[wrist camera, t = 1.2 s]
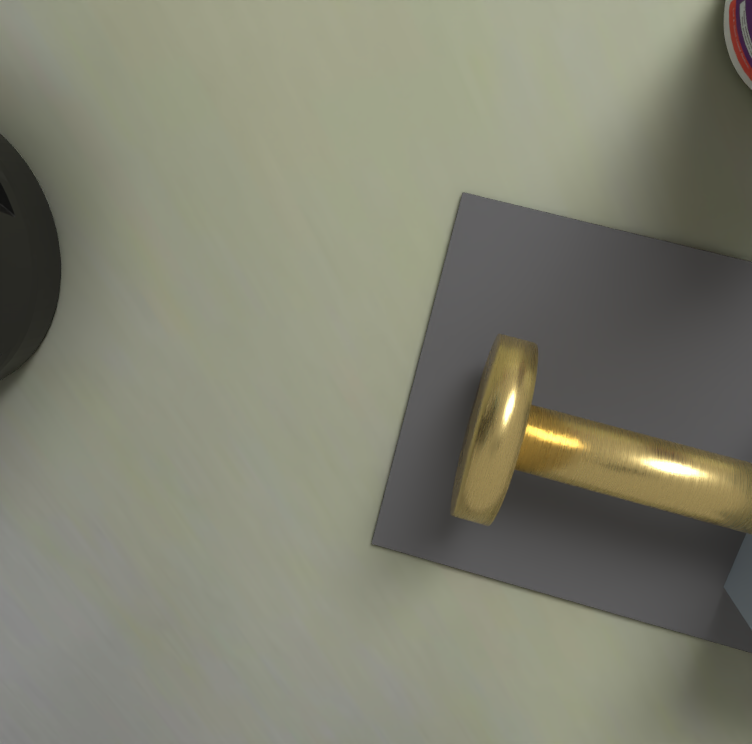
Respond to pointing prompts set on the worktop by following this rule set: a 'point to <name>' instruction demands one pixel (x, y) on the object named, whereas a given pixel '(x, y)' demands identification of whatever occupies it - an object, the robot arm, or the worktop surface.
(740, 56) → the pill bottle
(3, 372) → the robot arm
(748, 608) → the block
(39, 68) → the worktop surface
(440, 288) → the mat
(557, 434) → the pin
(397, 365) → the worktop surface
